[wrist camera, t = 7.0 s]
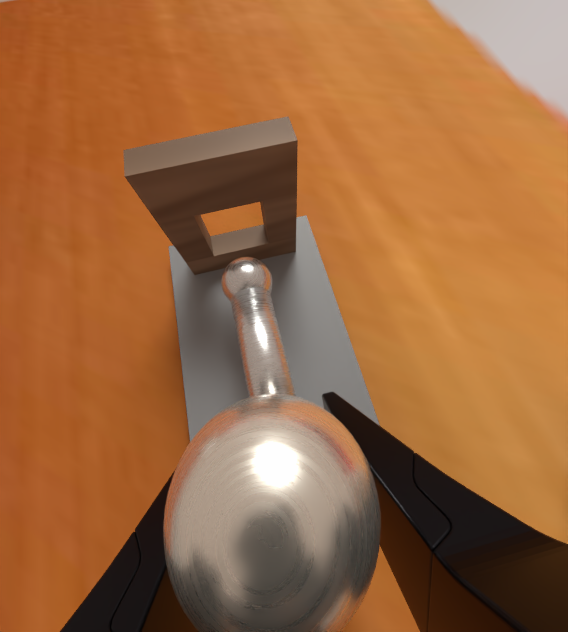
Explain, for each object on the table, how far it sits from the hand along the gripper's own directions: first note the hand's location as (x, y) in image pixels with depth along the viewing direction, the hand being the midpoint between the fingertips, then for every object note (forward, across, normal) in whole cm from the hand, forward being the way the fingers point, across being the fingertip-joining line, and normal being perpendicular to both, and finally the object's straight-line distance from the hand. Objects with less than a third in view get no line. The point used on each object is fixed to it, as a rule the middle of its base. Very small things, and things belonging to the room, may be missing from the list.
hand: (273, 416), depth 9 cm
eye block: (+12, 0, -4) cm, 12 cm away
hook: (+5, 0, +1) cm, 5 cm away
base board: (+9, 0, +1) cm, 9 cm away
